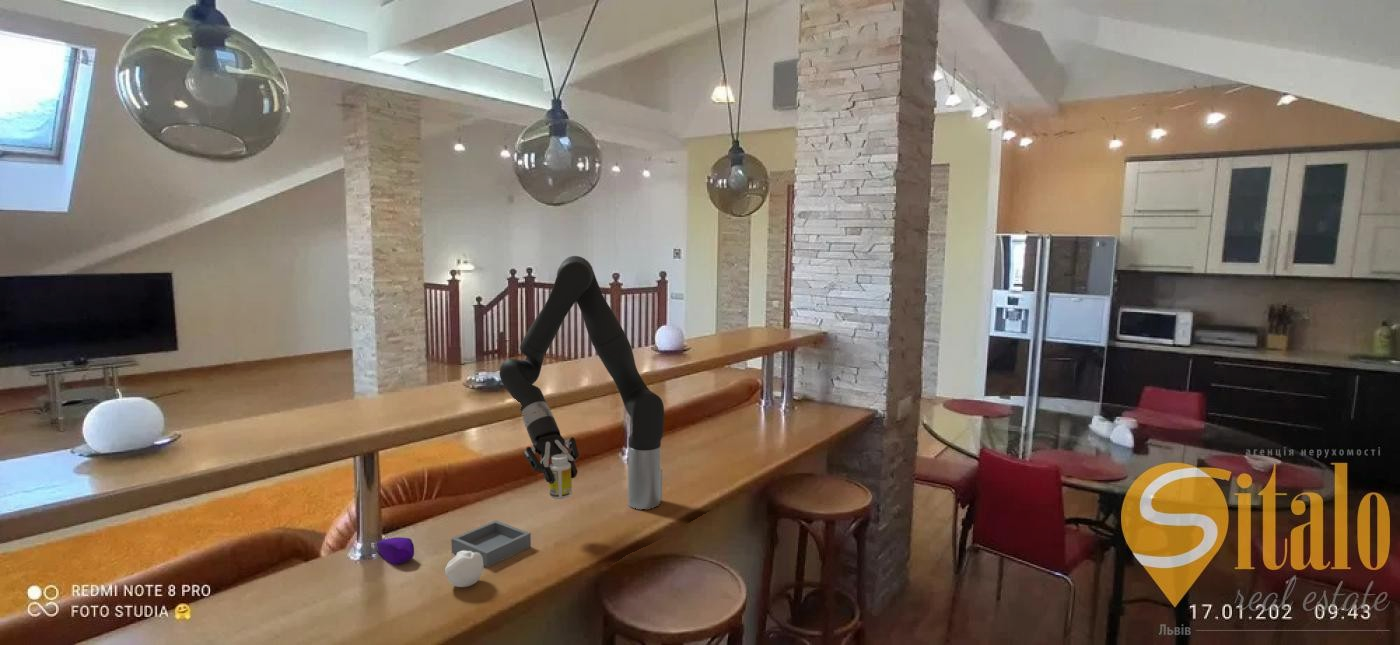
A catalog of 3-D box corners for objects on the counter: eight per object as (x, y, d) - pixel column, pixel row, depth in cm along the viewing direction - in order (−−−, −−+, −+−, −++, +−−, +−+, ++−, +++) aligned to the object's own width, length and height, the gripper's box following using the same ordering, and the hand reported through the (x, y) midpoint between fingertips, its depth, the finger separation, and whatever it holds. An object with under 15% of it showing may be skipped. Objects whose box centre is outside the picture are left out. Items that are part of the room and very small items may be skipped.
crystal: (385, 530, 159) (420, 540, 150) (386, 549, 159) (422, 560, 151) (365, 537, 155) (401, 547, 146) (367, 557, 155) (403, 568, 147)
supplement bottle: (572, 490, 167) (572, 452, 166) (570, 499, 162) (569, 459, 161) (550, 491, 167) (549, 453, 166) (547, 500, 161) (546, 460, 160)
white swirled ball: (472, 572, 146) (471, 539, 145) (491, 583, 141) (491, 550, 141) (439, 586, 140) (438, 552, 139) (457, 598, 135) (457, 563, 134)
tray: (496, 533, 166) (495, 520, 166) (530, 546, 159) (530, 533, 159) (451, 552, 156) (451, 538, 155) (486, 567, 148) (486, 553, 148)
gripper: (518, 420, 163) (542, 479, 155) (569, 410, 172) (593, 465, 165) (510, 435, 168) (532, 493, 160) (560, 425, 177) (583, 480, 169)
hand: (563, 479), depth 162 cm, fingers closed on supplement bottle, 5 cm apart
